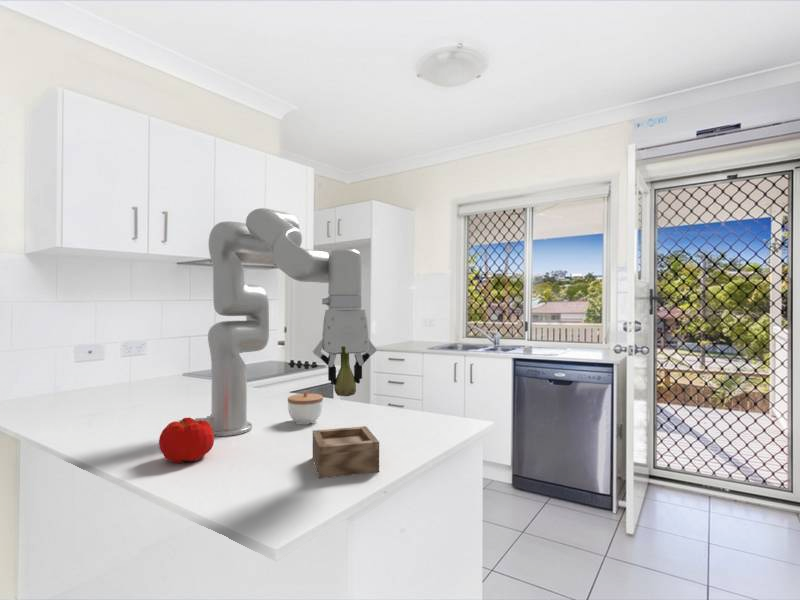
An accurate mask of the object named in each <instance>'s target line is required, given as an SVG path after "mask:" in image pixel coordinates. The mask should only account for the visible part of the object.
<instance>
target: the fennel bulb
mask: <svg viewBox="0 0 800 600" xmlns="http://www.w3.org/2000/svg"><path fill="white" fill-rule="evenodd" d="M341 349H342V353H341V354H340V367H339V370H338V372H337V374H336V384H335V385H333V387H334V392H335V394H336V395H337V396H338V397H350V396H354V395H355V394H356V393H357V385H356V384H357V383H356V382H355V379H354V372H353V371H352V368H351V365H350V354H346V353H345V347H344V346H342V347H341Z"/></svg>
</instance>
